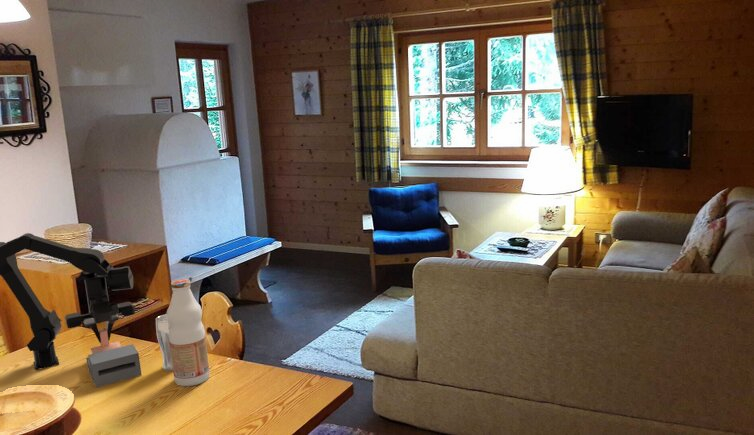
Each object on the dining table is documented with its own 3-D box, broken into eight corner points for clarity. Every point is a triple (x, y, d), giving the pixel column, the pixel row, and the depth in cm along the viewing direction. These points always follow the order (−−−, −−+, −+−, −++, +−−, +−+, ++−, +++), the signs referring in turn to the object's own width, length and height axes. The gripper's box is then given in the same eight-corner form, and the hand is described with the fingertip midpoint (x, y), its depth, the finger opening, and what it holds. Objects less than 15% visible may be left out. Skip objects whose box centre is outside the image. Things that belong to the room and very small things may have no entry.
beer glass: (190, 361, 182) (184, 312, 179) (180, 371, 176) (174, 321, 173) (167, 361, 183) (161, 313, 180) (157, 371, 176) (150, 322, 173)
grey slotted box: (87, 367, 182) (84, 346, 181) (130, 356, 188) (127, 335, 187) (95, 387, 169) (92, 364, 167) (141, 375, 175) (138, 352, 173)
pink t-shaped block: (90, 348, 188) (87, 332, 187) (118, 341, 192) (115, 325, 191) (98, 366, 174) (95, 349, 173) (128, 359, 178) (126, 342, 177)
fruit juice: (181, 390, 164) (168, 289, 158) (169, 378, 171) (157, 281, 166) (215, 379, 169) (204, 281, 164) (202, 368, 177) (191, 274, 171)
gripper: (65, 306, 174) (73, 358, 177) (135, 291, 183) (141, 341, 186) (61, 296, 183) (69, 346, 186) (127, 283, 193) (134, 330, 196)
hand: (104, 341), depth 188 cm, fingers closed on pink t-shaped block, 2 cm apart
